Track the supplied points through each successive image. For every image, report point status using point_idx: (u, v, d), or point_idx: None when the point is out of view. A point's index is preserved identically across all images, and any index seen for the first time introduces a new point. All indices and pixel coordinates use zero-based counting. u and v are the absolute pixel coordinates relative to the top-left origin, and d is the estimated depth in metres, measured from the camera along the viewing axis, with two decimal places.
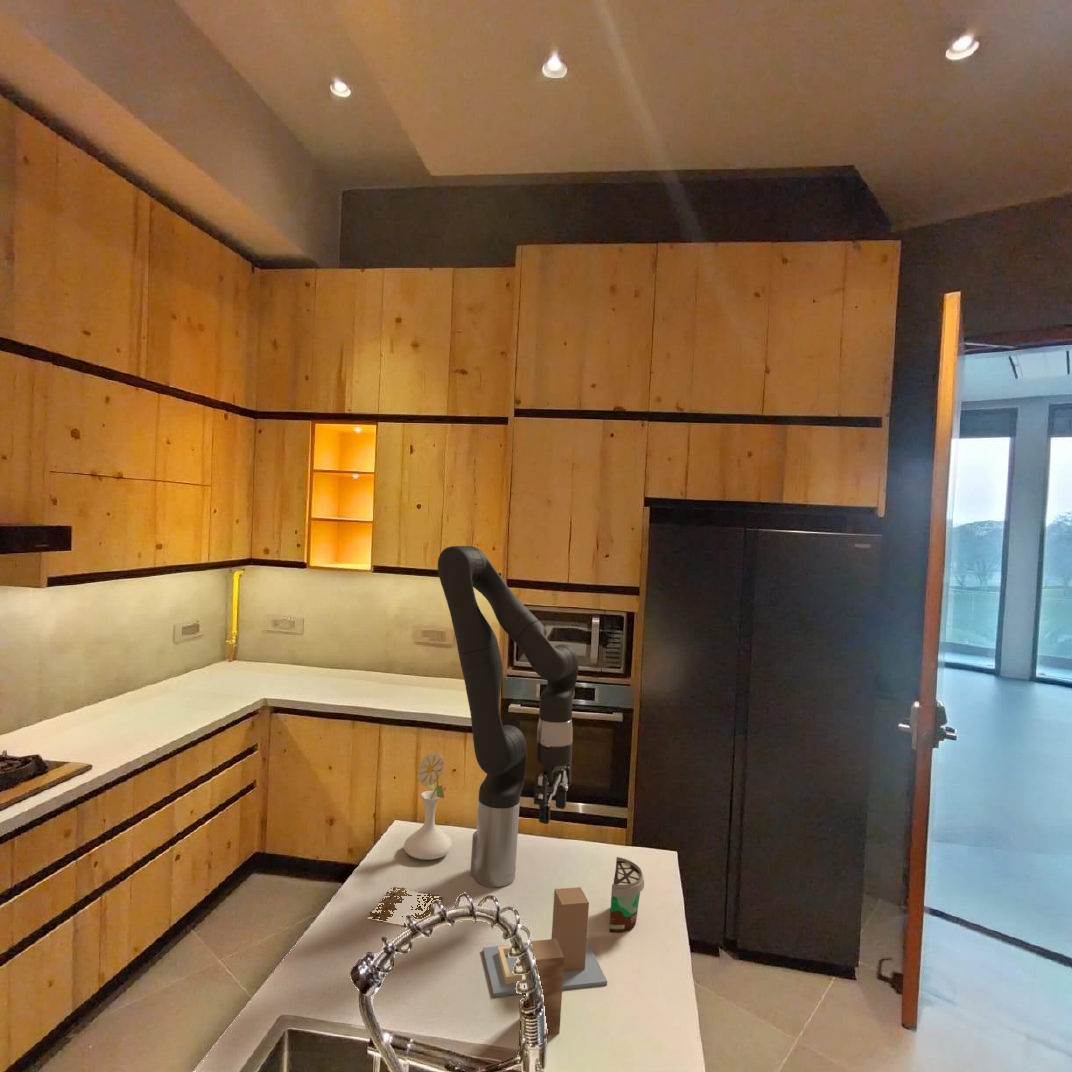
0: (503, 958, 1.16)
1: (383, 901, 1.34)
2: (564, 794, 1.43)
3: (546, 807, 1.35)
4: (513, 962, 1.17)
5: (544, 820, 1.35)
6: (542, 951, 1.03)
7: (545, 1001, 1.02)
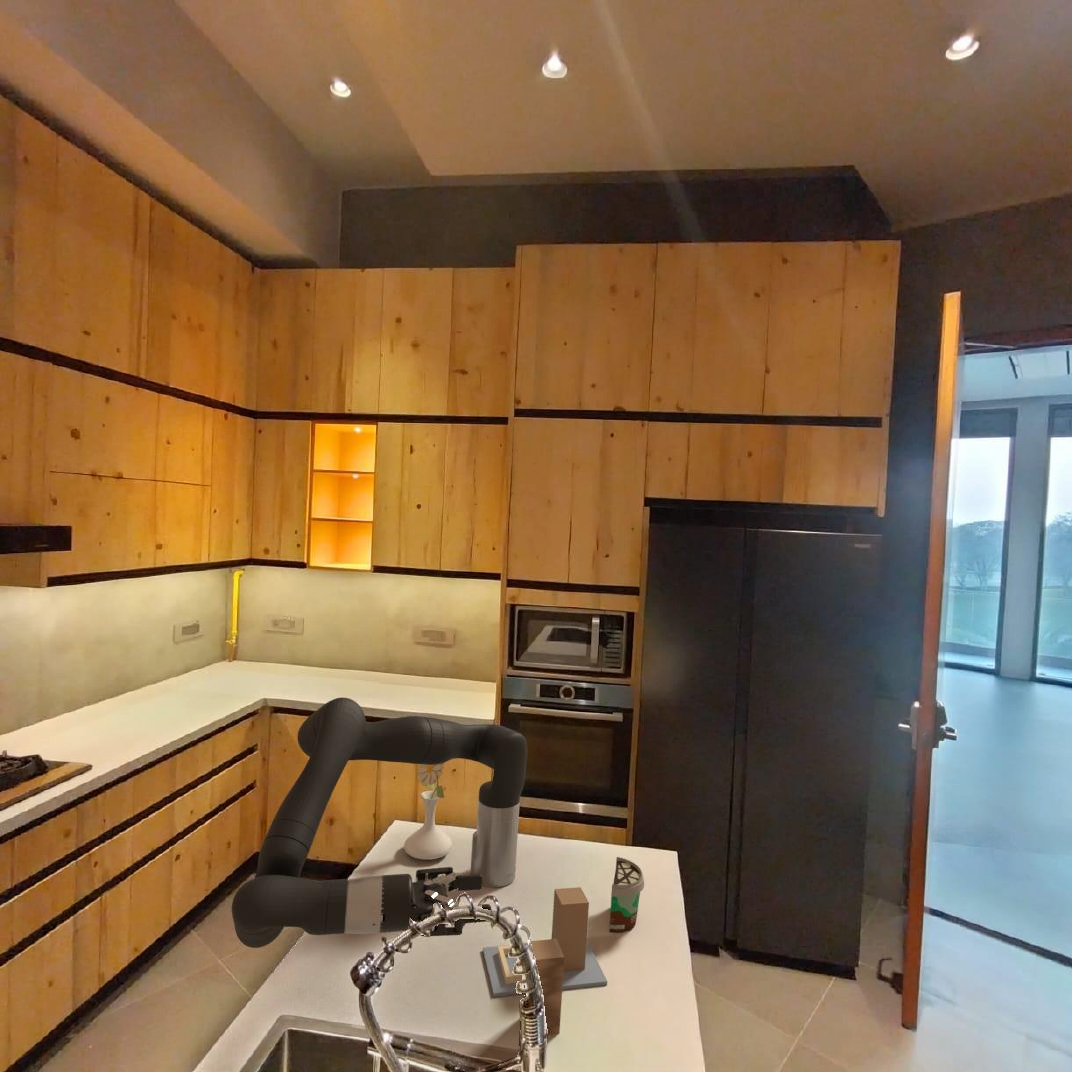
0: (503, 958, 1.16)
1: None
2: (462, 877, 1.04)
3: None
4: (513, 962, 1.17)
5: None
6: (542, 951, 1.03)
7: (545, 1001, 1.02)
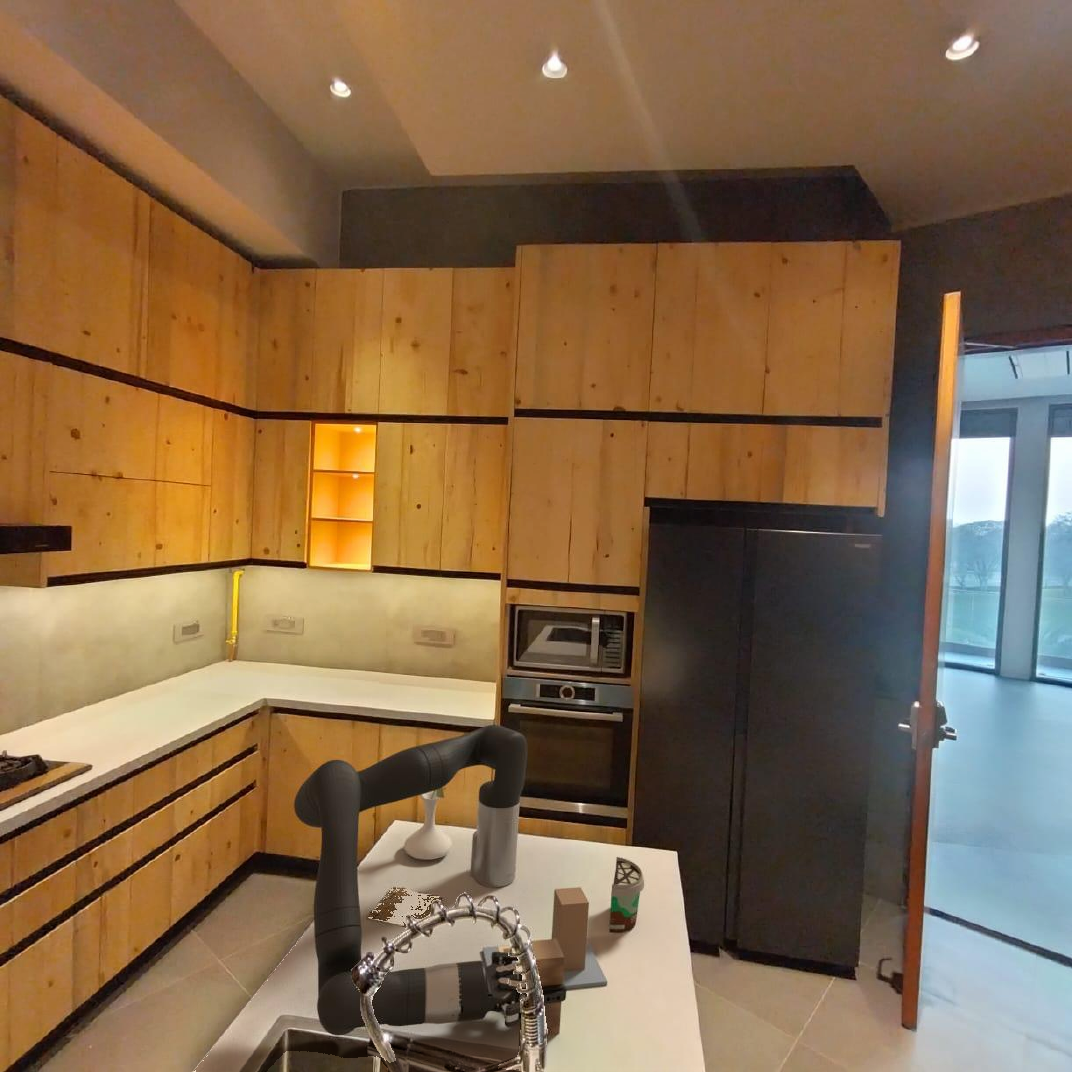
0: None
1: (383, 901, 1.34)
2: None
3: (544, 993, 1.00)
4: (513, 962, 1.17)
5: (561, 994, 1.01)
6: (542, 950, 1.03)
7: None
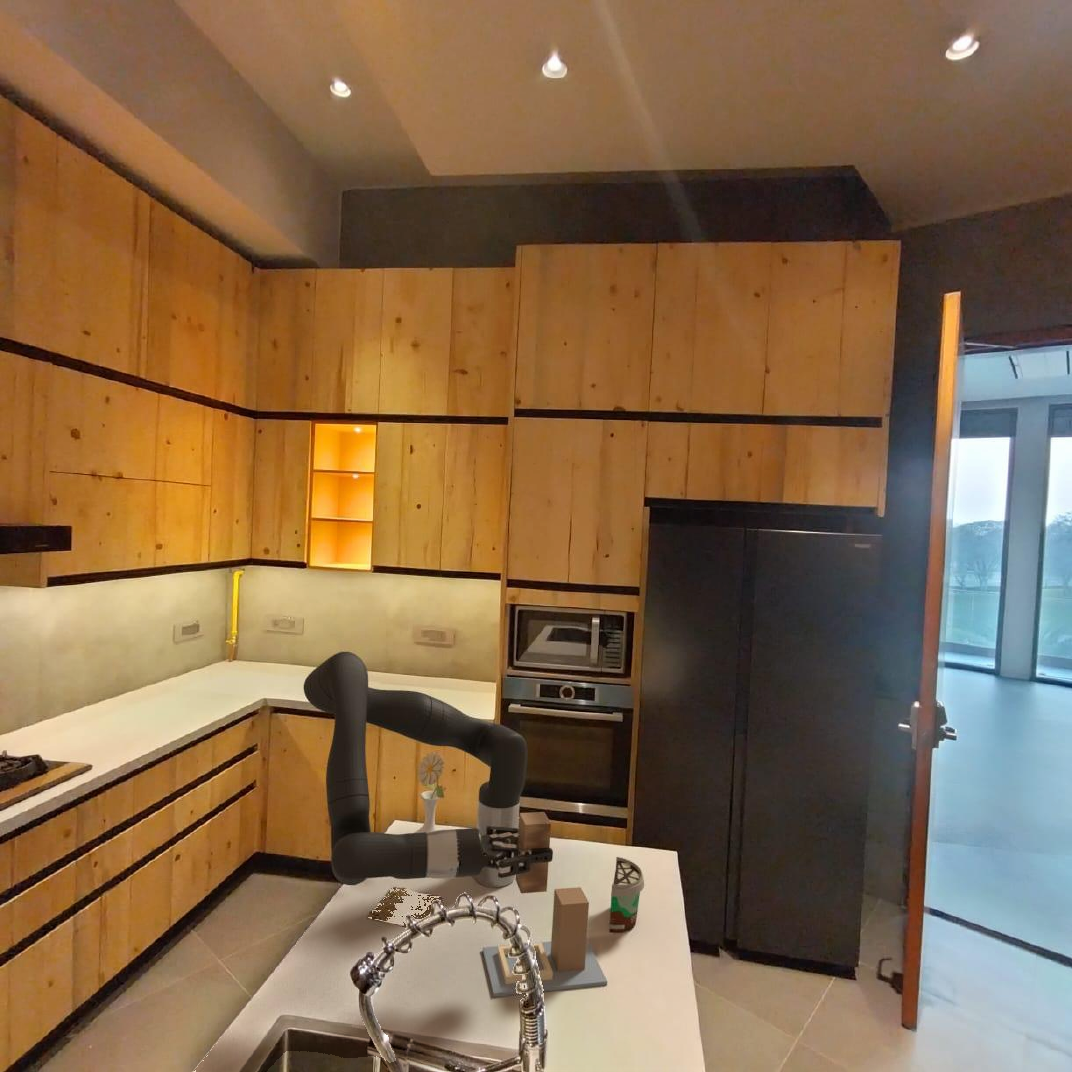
0: (503, 958, 1.16)
1: (383, 901, 1.34)
2: None
3: (533, 853, 1.13)
4: (513, 962, 1.17)
5: (548, 854, 1.13)
6: (531, 819, 1.15)
7: None
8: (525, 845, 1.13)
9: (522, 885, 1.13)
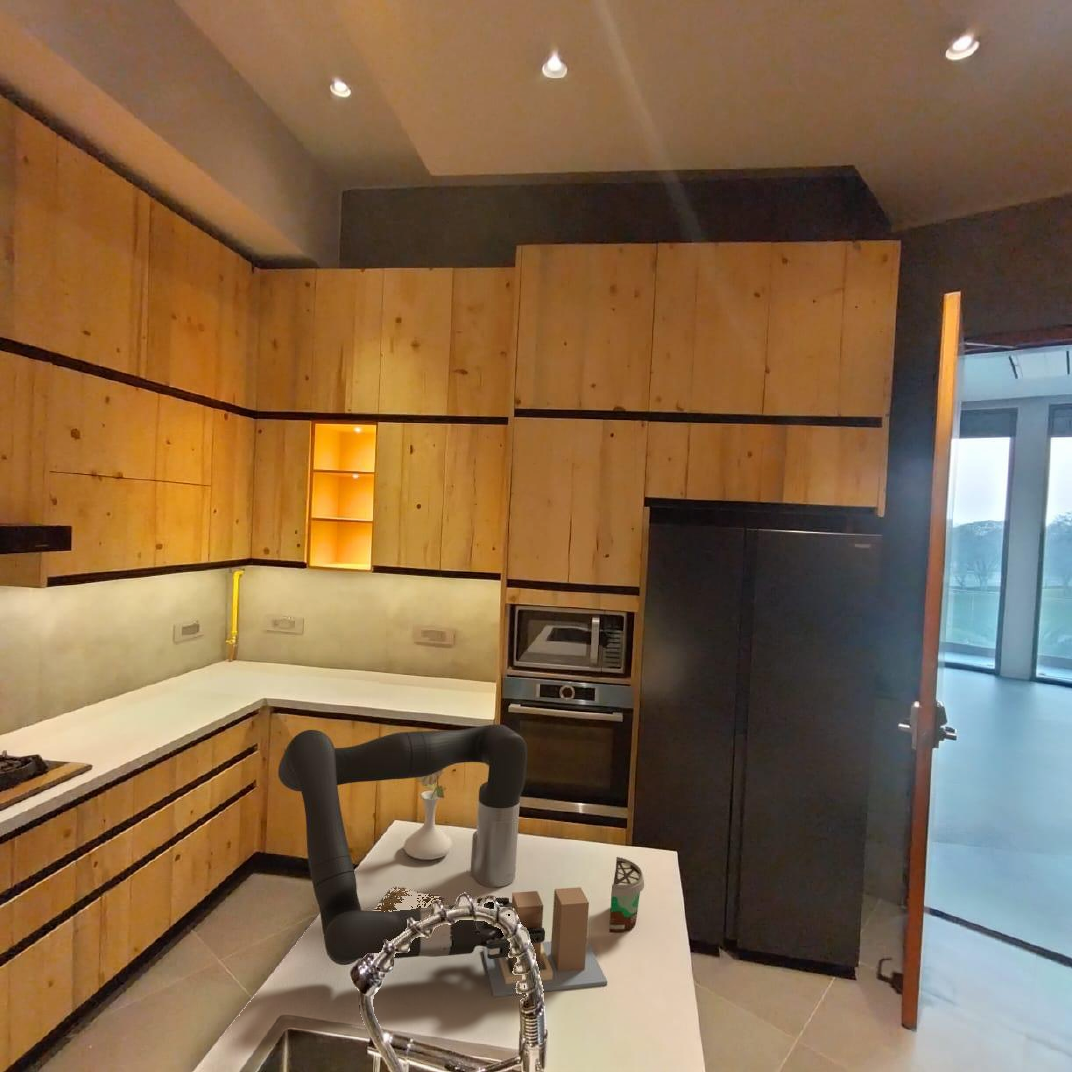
0: (503, 958, 1.16)
1: (383, 901, 1.34)
2: None
3: None
4: None
5: (540, 935, 1.12)
6: (523, 900, 1.16)
7: None
8: None
9: None
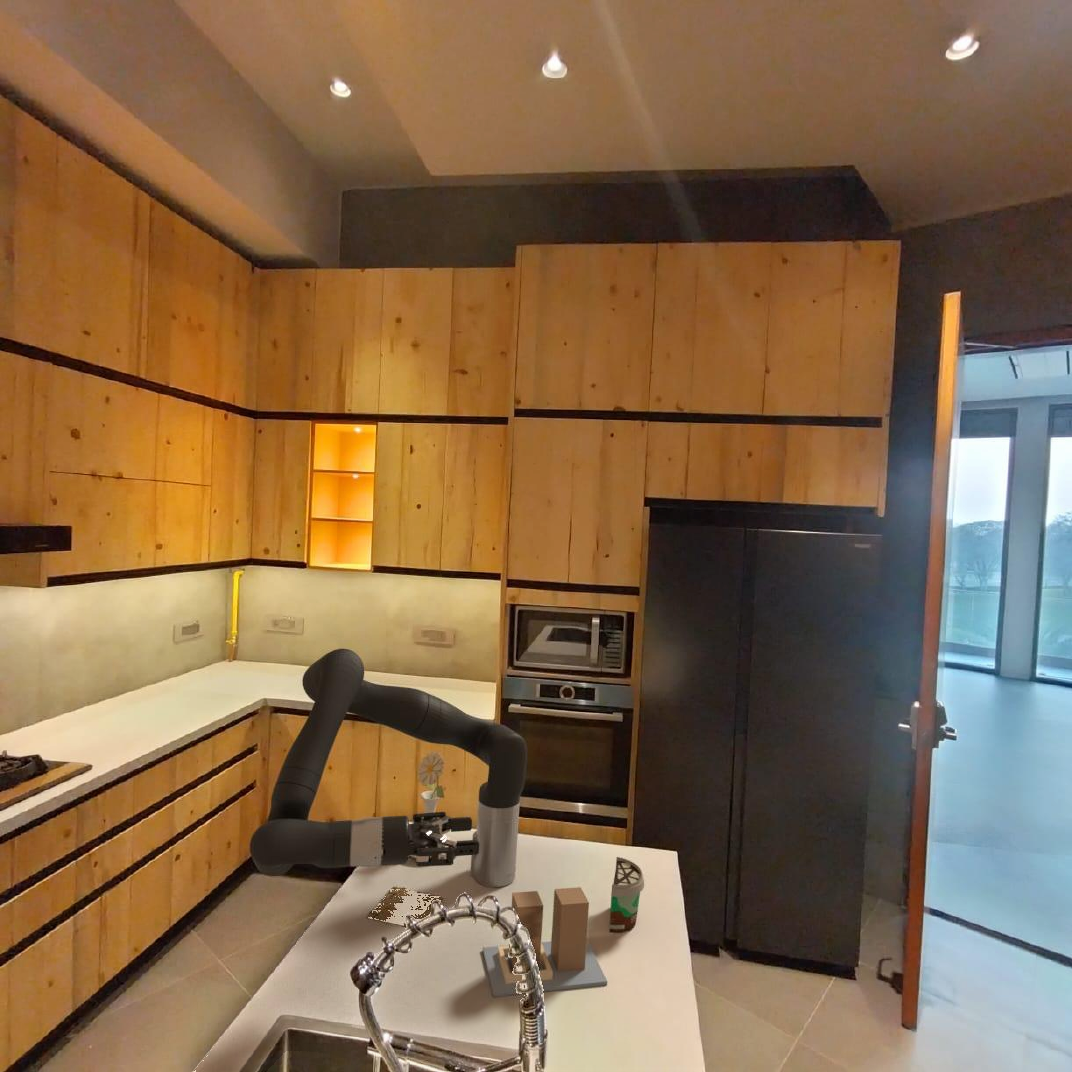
0: (503, 958, 1.16)
1: (383, 901, 1.34)
2: (454, 820, 1.17)
3: (458, 846, 1.08)
4: None
5: (474, 847, 1.09)
6: (523, 900, 1.16)
7: None
8: None
9: None
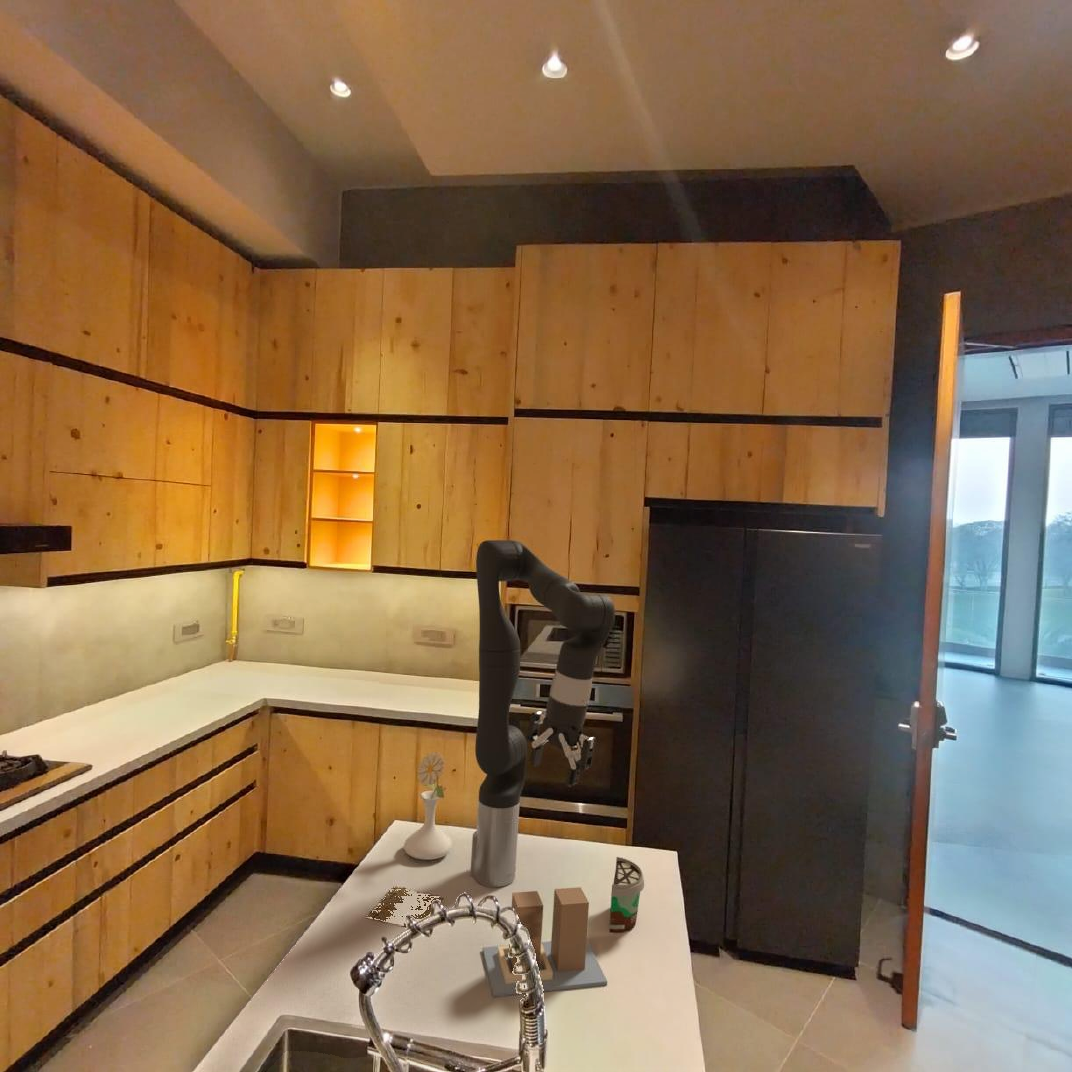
0: (503, 958, 1.16)
1: (383, 900, 1.34)
2: (542, 749, 1.28)
3: None
4: None
5: (576, 782, 1.23)
6: (523, 900, 1.16)
7: None
8: None
9: None
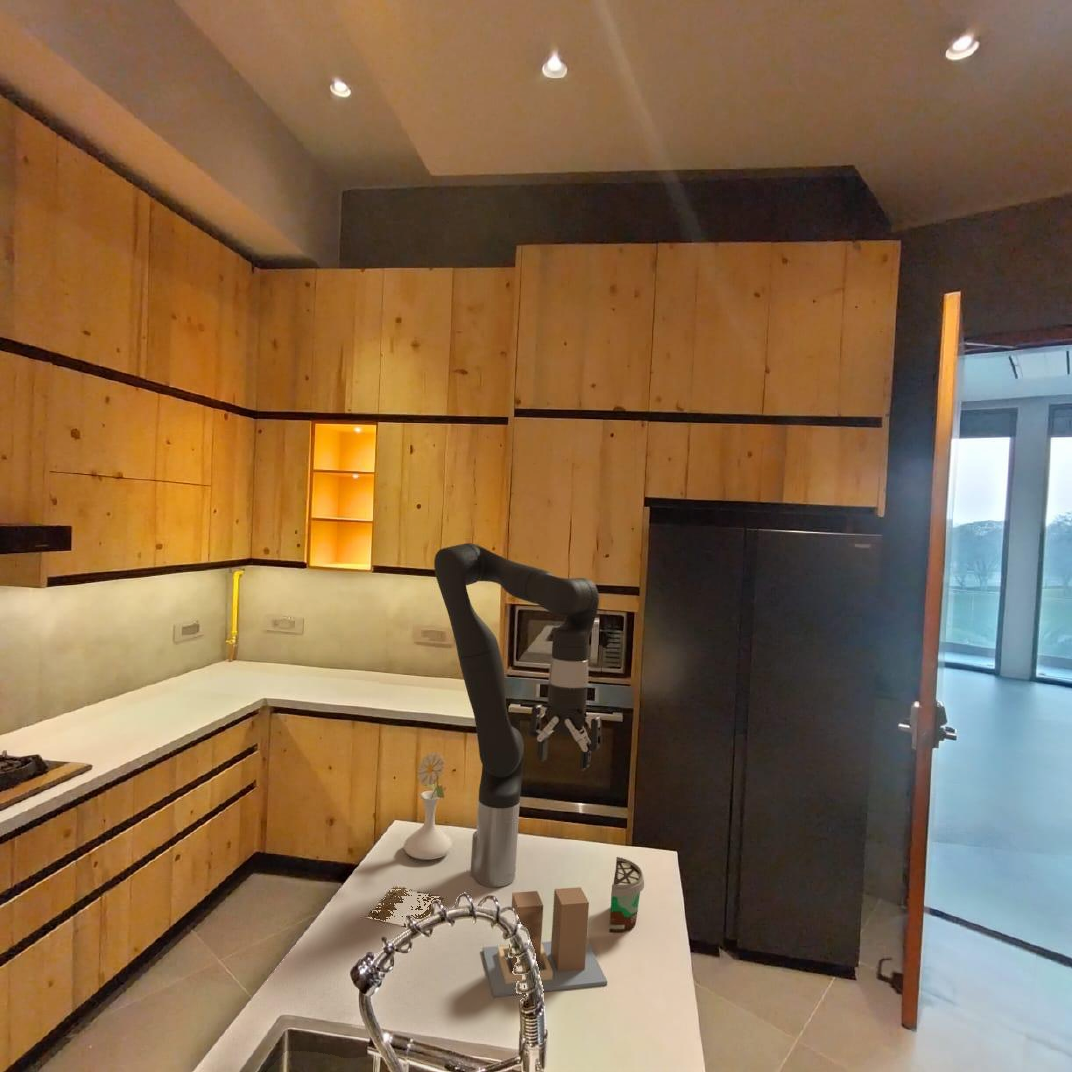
0: (503, 958, 1.16)
1: (383, 900, 1.34)
2: (547, 742, 1.29)
3: None
4: None
5: None
6: (523, 900, 1.16)
7: None
8: None
9: None
